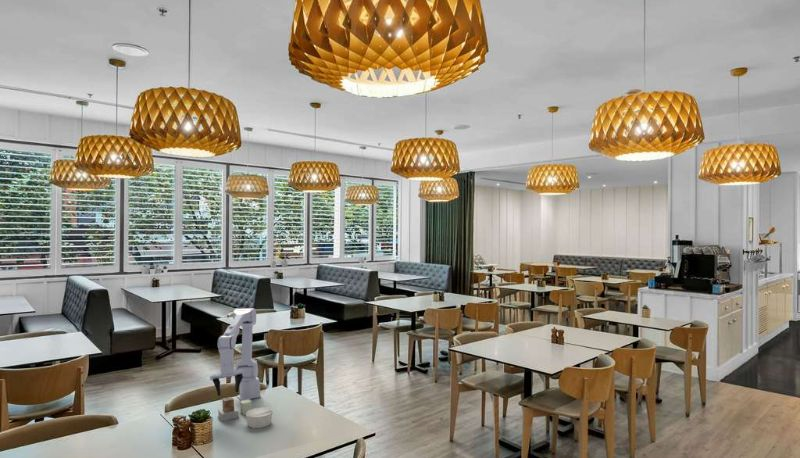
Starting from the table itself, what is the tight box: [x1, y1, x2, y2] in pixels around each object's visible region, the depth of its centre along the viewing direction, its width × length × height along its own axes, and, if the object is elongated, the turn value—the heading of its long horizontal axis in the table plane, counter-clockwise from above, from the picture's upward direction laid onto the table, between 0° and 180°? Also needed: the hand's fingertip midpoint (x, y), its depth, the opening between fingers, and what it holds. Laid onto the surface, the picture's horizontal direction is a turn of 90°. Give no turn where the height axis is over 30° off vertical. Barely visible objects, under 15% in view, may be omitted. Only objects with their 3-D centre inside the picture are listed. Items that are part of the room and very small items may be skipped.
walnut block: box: [221, 396, 235, 412], centre depth 218 cm, size 4×4×5 cm
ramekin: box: [245, 406, 274, 429], centre depth 209 cm, size 11×11×5 cm
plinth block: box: [217, 405, 240, 422], centre depth 218 cm, size 7×7×3 cm
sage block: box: [239, 399, 253, 416], centre depth 223 cm, size 4×4×5 cm
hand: (227, 393), depth 218 cm, fingers open, 7 cm apart
